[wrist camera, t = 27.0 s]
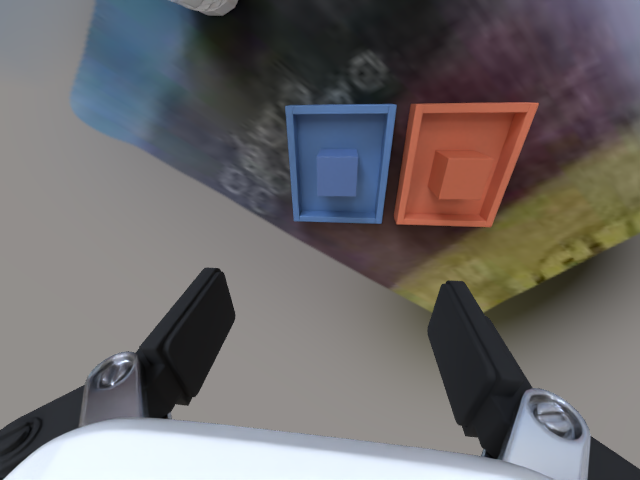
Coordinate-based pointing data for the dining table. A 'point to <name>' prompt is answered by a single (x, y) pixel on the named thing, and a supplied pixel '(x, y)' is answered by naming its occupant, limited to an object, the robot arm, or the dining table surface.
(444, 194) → the terracotta block
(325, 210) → the slate-blue tray
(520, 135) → the terracotta tray
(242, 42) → the dining table surface
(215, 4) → the white cup
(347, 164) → the slate-blue block
